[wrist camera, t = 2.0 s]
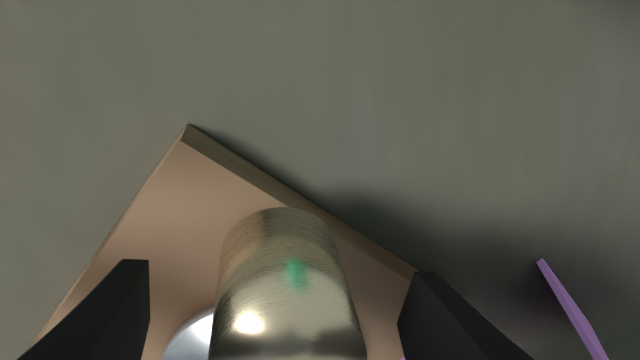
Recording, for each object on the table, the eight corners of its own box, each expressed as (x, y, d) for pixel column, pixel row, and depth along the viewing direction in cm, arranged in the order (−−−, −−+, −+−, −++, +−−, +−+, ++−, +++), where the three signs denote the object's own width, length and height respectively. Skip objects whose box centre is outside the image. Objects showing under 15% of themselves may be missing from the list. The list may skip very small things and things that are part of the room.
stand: (271, 440, 22) (272, 474, 21) (21, 358, 17) (-2, 396, 16) (442, 285, 19) (459, 313, 17) (187, 123, 14) (179, 143, 12)
